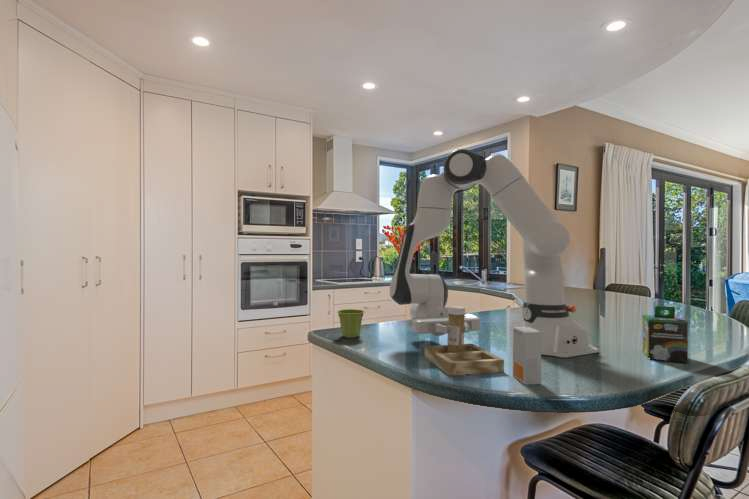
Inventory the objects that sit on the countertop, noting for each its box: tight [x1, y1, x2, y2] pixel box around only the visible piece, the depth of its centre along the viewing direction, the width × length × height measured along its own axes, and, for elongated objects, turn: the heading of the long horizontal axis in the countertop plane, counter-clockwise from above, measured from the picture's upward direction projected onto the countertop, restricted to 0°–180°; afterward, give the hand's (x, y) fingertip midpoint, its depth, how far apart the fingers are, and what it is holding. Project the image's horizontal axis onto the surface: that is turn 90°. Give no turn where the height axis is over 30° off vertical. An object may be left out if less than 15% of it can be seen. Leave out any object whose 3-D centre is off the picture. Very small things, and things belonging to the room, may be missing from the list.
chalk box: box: [641, 305, 689, 364], centre depth 111 cm, size 9×9×15 cm
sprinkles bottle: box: [447, 305, 466, 353], centre depth 108 cm, size 5×5×14 cm
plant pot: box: [336, 308, 366, 339], centre depth 135 cm, size 9×9×9 cm
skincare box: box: [512, 326, 542, 386], centre depth 92 cm, size 6×4×12 cm
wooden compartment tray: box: [424, 343, 505, 377], centre depth 104 cm, size 15×17×3 cm
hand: (457, 329), depth 107 cm, fingers open, 4 cm apart
